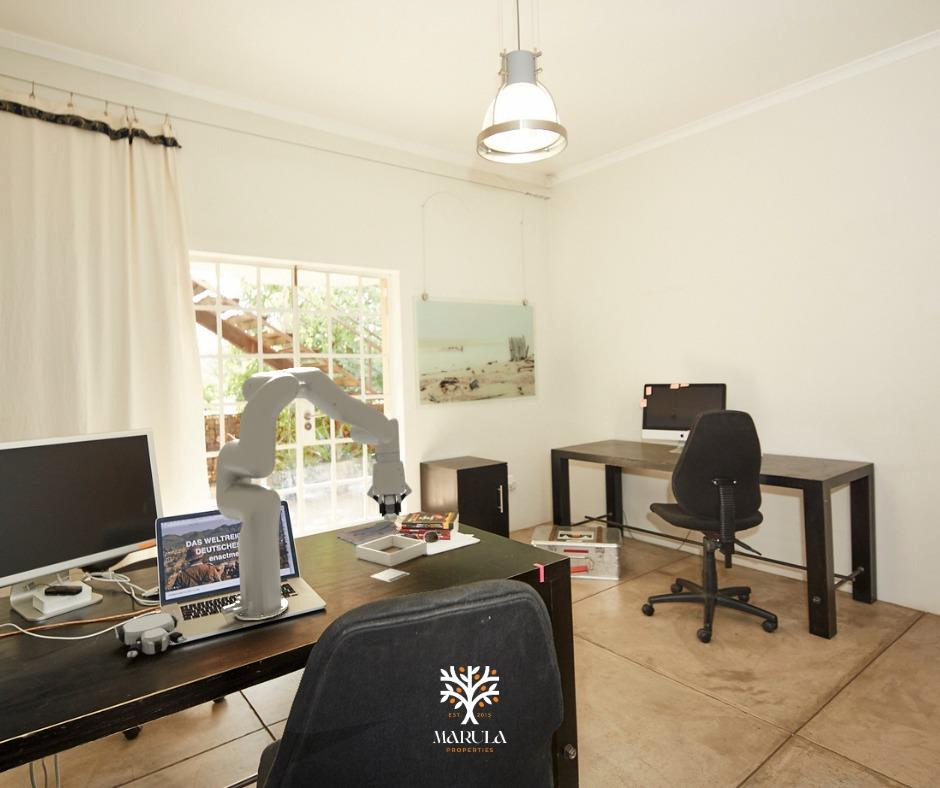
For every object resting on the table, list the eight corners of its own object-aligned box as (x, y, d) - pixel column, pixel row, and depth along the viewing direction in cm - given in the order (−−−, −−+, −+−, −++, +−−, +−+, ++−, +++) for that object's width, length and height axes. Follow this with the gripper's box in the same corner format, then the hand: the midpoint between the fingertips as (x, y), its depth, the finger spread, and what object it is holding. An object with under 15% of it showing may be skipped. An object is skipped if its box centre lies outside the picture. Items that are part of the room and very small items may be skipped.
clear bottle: (390, 521, 179) (389, 492, 178) (381, 519, 181) (380, 491, 181) (400, 518, 182) (398, 490, 182) (390, 516, 185) (389, 489, 184)
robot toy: (190, 651, 125) (174, 624, 137) (190, 631, 125) (173, 606, 137) (125, 671, 118) (114, 641, 129) (124, 650, 117) (113, 622, 129)
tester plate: (389, 585, 158) (389, 581, 158) (370, 579, 163) (369, 576, 163) (410, 576, 164) (410, 573, 164) (390, 571, 169) (390, 567, 169)
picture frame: (388, 526, 222) (337, 538, 209) (387, 520, 222) (336, 531, 208) (412, 535, 210) (359, 548, 196) (412, 528, 210) (359, 541, 196)
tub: (390, 569, 171) (390, 554, 171) (356, 560, 181) (355, 546, 181) (426, 555, 183) (426, 541, 183) (392, 547, 193) (392, 534, 193)
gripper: (359, 460, 176) (362, 520, 177) (414, 457, 178) (417, 516, 179) (361, 457, 184) (364, 514, 184) (414, 454, 185) (417, 510, 186)
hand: (390, 514), depth 182 cm, fingers closed on clear bottle, 4 cm apart
